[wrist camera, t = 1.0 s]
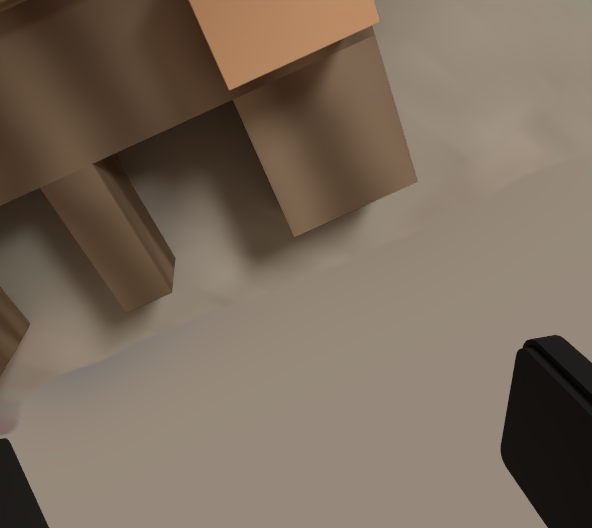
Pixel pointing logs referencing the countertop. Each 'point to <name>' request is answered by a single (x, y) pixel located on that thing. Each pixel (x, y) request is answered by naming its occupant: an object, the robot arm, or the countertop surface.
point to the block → (275, 31)
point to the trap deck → (168, 113)
